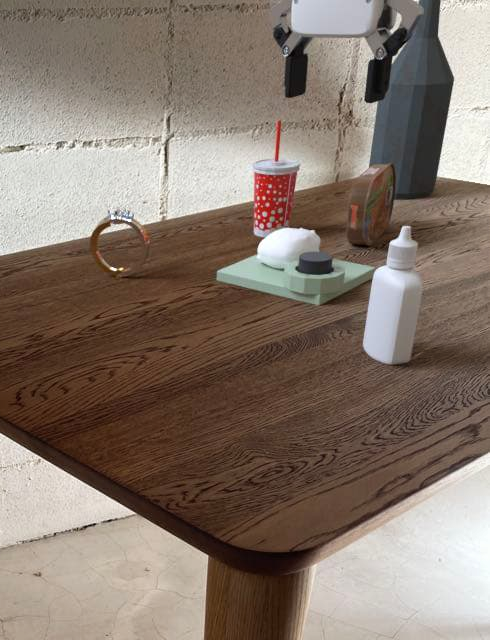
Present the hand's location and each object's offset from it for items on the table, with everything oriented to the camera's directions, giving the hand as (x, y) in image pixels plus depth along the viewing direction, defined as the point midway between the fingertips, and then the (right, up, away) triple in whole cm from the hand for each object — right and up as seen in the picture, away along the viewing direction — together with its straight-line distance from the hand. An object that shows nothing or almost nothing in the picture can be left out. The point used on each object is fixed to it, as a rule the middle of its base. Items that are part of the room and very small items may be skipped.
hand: (333, 98), depth 94 cm
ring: (-23, -16, +12) cm, 30 cm away
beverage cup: (-2, -6, +24) cm, 25 cm away
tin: (+10, -8, +21) cm, 25 cm away
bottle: (+21, +6, +40) cm, 45 cm away
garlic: (-2, -15, +10) cm, 18 cm away
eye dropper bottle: (+2, -30, -10) cm, 32 cm away
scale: (-2, -17, +9) cm, 19 cm away
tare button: (-1, -18, +2) cm, 18 cm away
